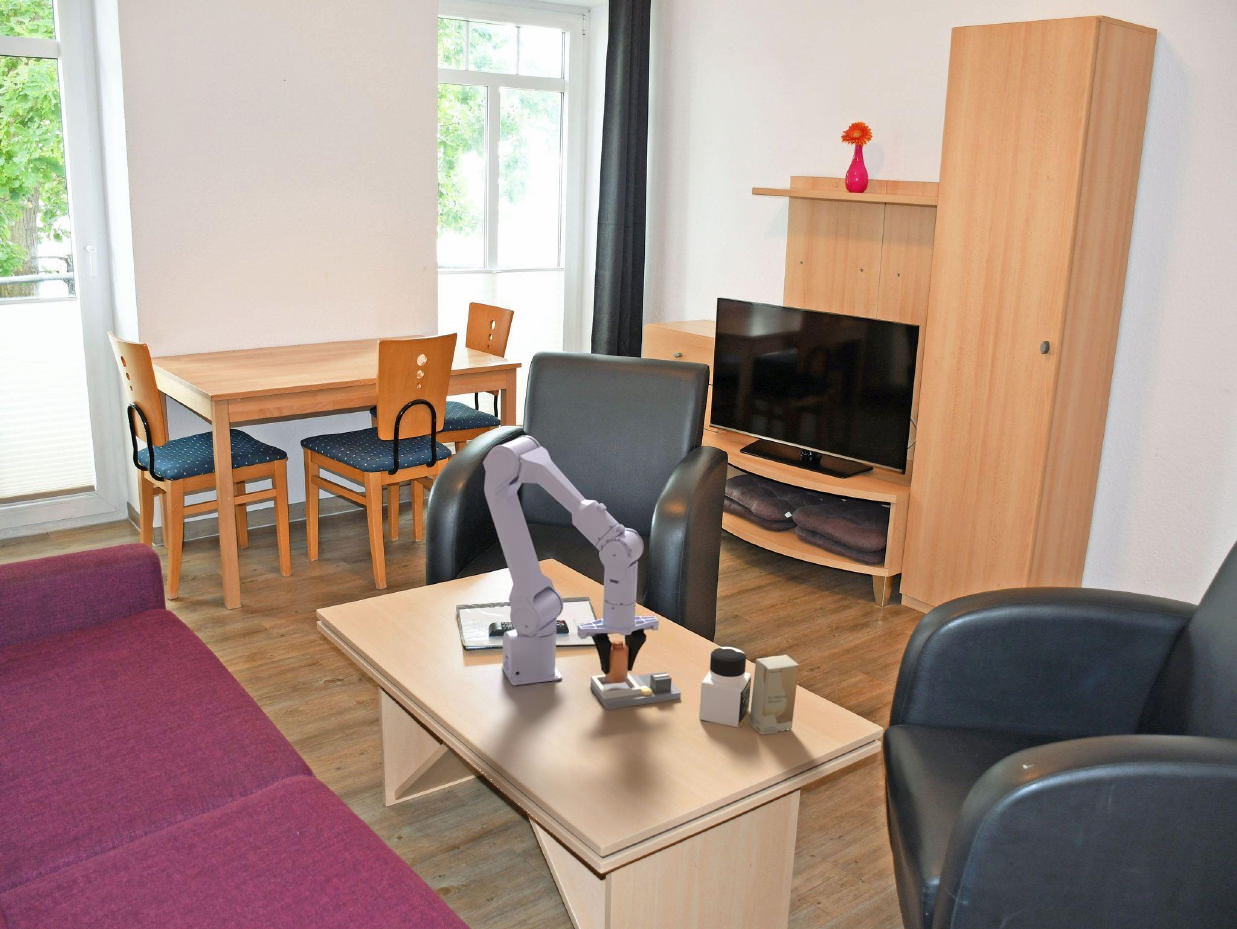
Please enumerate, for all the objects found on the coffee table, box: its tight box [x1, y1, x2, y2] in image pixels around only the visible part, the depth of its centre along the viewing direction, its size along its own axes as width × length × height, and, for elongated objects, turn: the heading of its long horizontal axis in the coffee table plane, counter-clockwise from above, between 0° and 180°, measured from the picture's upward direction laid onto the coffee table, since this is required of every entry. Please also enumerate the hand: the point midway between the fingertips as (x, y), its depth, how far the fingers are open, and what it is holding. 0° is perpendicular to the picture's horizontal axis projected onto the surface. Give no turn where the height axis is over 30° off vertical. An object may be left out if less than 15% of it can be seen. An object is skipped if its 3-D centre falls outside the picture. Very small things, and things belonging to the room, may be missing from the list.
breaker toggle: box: [650, 671, 672, 693], centre depth 194 cm, size 3×2×3 cm
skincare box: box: [749, 654, 800, 735], centre depth 184 cm, size 6×4×12 cm
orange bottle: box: [604, 640, 629, 683], centre depth 193 cm, size 4×4×7 cm
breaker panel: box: [590, 671, 681, 710], centre depth 195 cm, size 14×8×2 cm, turn 111°
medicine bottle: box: [698, 646, 752, 728], centre depth 187 cm, size 7×7×12 cm
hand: (616, 670), depth 193 cm, fingers closed on orange bottle, 4 cm apart
